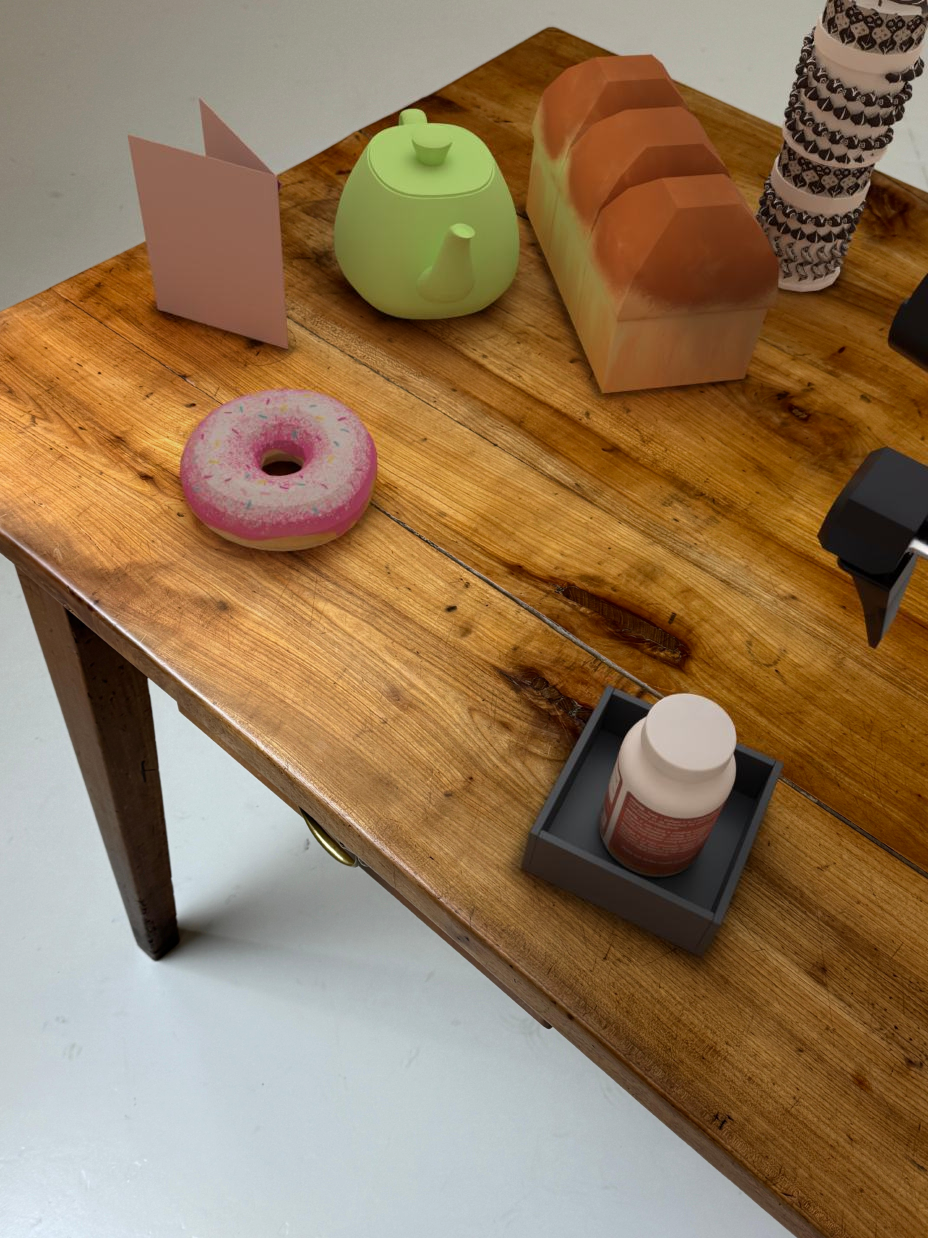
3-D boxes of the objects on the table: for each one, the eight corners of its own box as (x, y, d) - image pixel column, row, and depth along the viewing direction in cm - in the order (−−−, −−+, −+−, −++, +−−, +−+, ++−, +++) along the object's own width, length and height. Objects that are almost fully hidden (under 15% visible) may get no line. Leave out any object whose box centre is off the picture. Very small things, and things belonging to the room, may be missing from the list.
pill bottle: (722, 857, 68) (776, 760, 59) (630, 897, 66) (671, 802, 57) (667, 770, 71) (711, 665, 62) (578, 805, 69) (609, 702, 60)
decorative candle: (831, 231, 106) (939, -63, 86) (854, 296, 101) (975, -1, 81) (732, 226, 106) (817, -70, 86) (750, 292, 100) (845, -9, 80)
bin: (763, 801, 71) (784, 763, 67) (701, 958, 64) (720, 925, 61) (595, 724, 73) (607, 684, 69) (520, 868, 67) (529, 832, 63)
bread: (750, 381, 93) (805, 219, 81) (599, 397, 91) (634, 232, 79) (652, 197, 108) (688, 36, 96) (521, 207, 105) (540, 43, 94)
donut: (193, 578, 78) (184, 528, 74) (177, 436, 85) (167, 384, 81) (394, 552, 80) (395, 502, 76) (360, 417, 88) (360, 365, 84)
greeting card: (298, 345, 92) (288, 172, 80) (212, 377, 89) (189, 203, 77) (229, 266, 98) (210, 93, 86) (146, 294, 95) (114, 119, 83)
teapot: (547, 368, 93) (570, 224, 82) (358, 385, 90) (357, 238, 80) (486, 204, 105) (500, 60, 95) (319, 214, 103) (314, 68, 92)
